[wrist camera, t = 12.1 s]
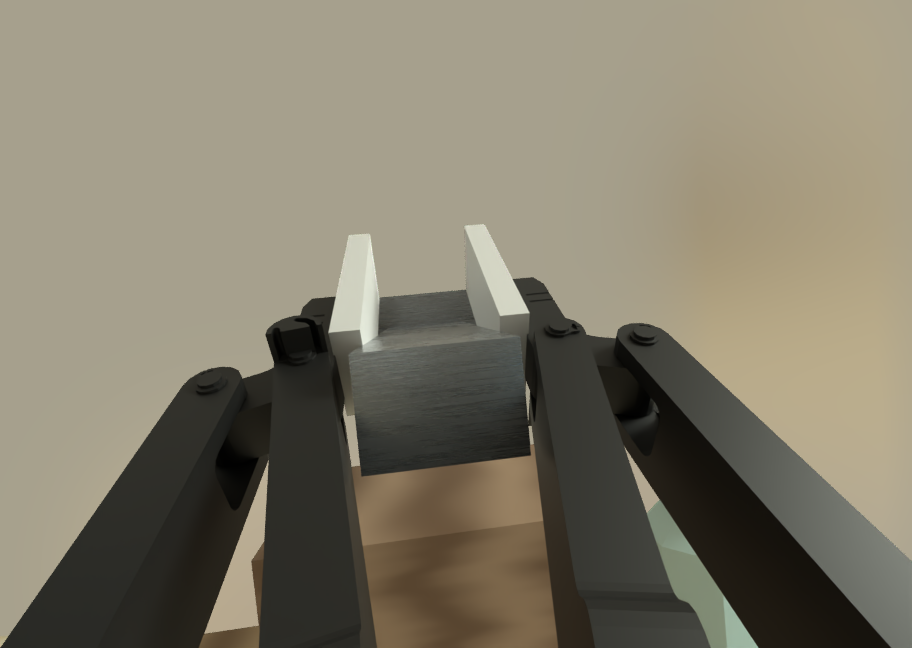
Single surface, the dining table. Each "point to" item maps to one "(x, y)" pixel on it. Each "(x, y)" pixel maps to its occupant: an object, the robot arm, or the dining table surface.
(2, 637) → the dining table surface
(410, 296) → the grey t-shaped block
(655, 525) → the water bottle
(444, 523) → the stepped stand
